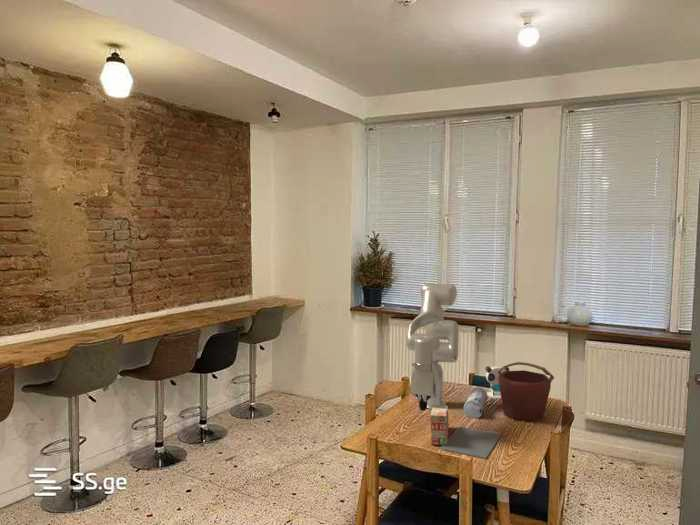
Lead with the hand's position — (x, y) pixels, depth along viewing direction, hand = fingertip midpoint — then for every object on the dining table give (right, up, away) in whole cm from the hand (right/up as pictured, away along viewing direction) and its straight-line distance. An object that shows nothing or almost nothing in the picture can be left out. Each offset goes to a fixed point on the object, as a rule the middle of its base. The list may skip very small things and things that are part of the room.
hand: (423, 409), depth 221 cm
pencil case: (+29, -9, +27) cm, 41 cm away
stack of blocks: (+7, -10, -3) cm, 13 cm away
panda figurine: (+46, -7, +52) cm, 70 cm away
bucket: (+50, -9, +21) cm, 54 cm away
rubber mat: (+19, -11, -9) cm, 23 cm away
